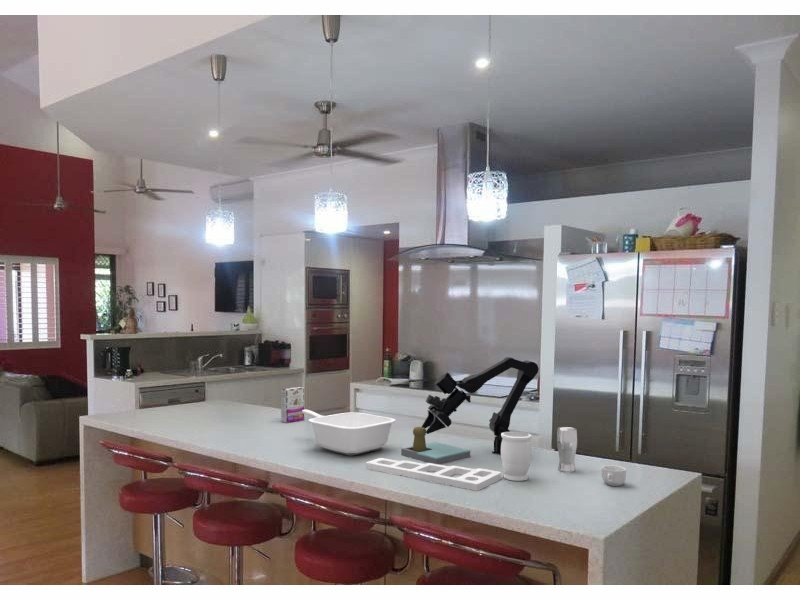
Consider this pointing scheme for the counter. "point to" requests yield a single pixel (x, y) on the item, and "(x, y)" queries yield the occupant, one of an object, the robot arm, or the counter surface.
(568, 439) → the beer glass
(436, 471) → the holder
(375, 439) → the pot
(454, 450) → the teal gray square board
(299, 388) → the candy bar box
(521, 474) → the jar
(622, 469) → the teacup
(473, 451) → the counter surface
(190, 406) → the counter surface
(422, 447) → the brown waisted cylinder
